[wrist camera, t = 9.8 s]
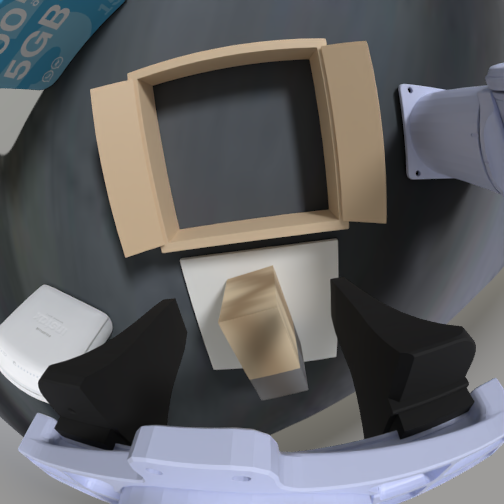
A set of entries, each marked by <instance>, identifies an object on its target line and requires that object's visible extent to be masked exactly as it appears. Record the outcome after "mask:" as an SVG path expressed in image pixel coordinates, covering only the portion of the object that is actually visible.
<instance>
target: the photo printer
mask: <svg viewBox="0 0 504 504" xmlns="http://www.w3.org/2000/svg"><path fill="white" fill-rule="evenodd" d="M112 329H113V327H112V322H111V320H110V318H109V317H108V316H107V315H106V314H105V313H103V312H101V311H100V310H98V309H96V308H94V307H92V306H90V305H88V304H86V303H84V302H82V301H80V300H78V299H76V298H73V297H71V296H70V295H67V294H65V293H63V292H61V291H59V290H57V289H55V288H53V287H51V286H48V285H43V286H41V287H40V288H39V289H37V290H36V291H35V292H34V293H33V294H32V295H31V296H30V297H29V298H28V299H26V300H25V301H24V302H23V303H22V304H21V305H20V306H19V307H18V308H17V309H16V310H15V311H14V312H13V313H12V314H11V315H10V316H9V317H8V318H7V319H6V320H5V321H4V322H3V323H2V324H1V325H0V371H1V372H2V374H3V375H4V376H5V377H6V378H7V379H8V380H9V381H10V382H12V383H13V384H14V385H15V386H16V387H18V388H19V389H21V390H22V391H24V392H25V393H27V394H28V395H30V396H32V397H34V398H36V399H38V400H41V401H43V402H46V403H48V402H47V401H46V399H45V398H44V397H43V395H42V394H41V392H40V390H39V387H38V381H39V379H40V378H41V376H42V375H43V373H44V372H45V370H46V369H47V368H48V366H49V365H52V364H56V363H59V362H63V361H66V360H69V359H72V358H75V357H77V356H80V355H82V354H85V353H87V352H89V351H91V350H93V349H95V348H97V347H99V346H101V345H103V344H104V343H105V342H106V341H107V339H108V337H109V336H110V334H111V332H112Z"/></svg>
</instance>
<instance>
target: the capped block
mask: <svg viewBox="0 0 504 504" xmlns="http://www.w3.org/2000/svg"><path fill="white" fill-rule="evenodd" d="M218 324H219V326H220V328H221V330H222V331H223V333H224V335H225V337H226V339H227V341H228V342H229V344H230V346H231V348H232V350H233V351H234V353H235V355H236V357H237V359H238V360H239V362H240V364H241V366H242V367H243V369H244V371H245V373H246V374H247V376H248V378H249V379H250V381H251V383H252V385H253V386H254V388H255V390H256V391H257V393H258V395H259V396H260V398H261V400H267V399H272V398H277V397H281V396H286V395H290V394H294V393H298V392H302V391H306V390H308V383H307V377H306V371H305V365H304V359H303V354H302V348H301V343H300V340H299V337H298V334H297V331H296V328H295V326H294V323H293V320H292V317H291V314H290V312H289V309H288V306H287V303H286V300H285V297H284V295H283V292H282V289H281V286H280V284H279V281H278V278H277V275H276V272H275V270H274V267H273V265H272V266H269V267H266V268H262V269H259V270H256V271H253V272H250V273H246V274H243V275H240V276H237V277H233V278H230V279H227V282H226V287H225V292H224V297H223V301H222V306H221V311H220V316H219V321H218Z"/></svg>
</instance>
